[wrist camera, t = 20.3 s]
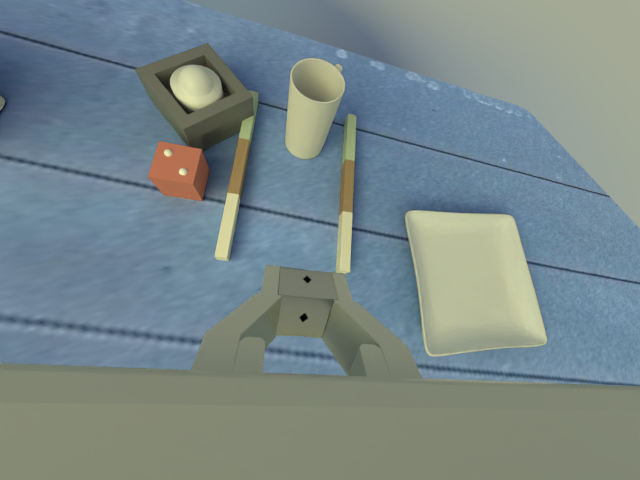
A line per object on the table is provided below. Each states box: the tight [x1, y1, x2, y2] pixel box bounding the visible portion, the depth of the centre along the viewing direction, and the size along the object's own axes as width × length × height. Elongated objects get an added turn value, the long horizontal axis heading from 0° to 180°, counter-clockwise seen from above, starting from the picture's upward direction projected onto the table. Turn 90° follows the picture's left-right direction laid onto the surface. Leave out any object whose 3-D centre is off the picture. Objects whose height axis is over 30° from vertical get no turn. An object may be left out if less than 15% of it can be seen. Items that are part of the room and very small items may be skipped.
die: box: [148, 141, 210, 201], centre depth 33 cm, size 5×5×5 cm
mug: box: [285, 58, 345, 159], centre depth 36 cm, size 10×7×12 cm, turn 144°
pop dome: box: [170, 65, 224, 114], centre depth 34 cm, size 6×6×4 cm
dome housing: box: [135, 43, 254, 151], centre depth 36 cm, size 11×11×6 cm
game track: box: [215, 90, 356, 274], centre depth 38 cm, size 27×18×2 cm, turn 175°
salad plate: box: [405, 210, 547, 356], centre depth 39 cm, size 21×21×3 cm
